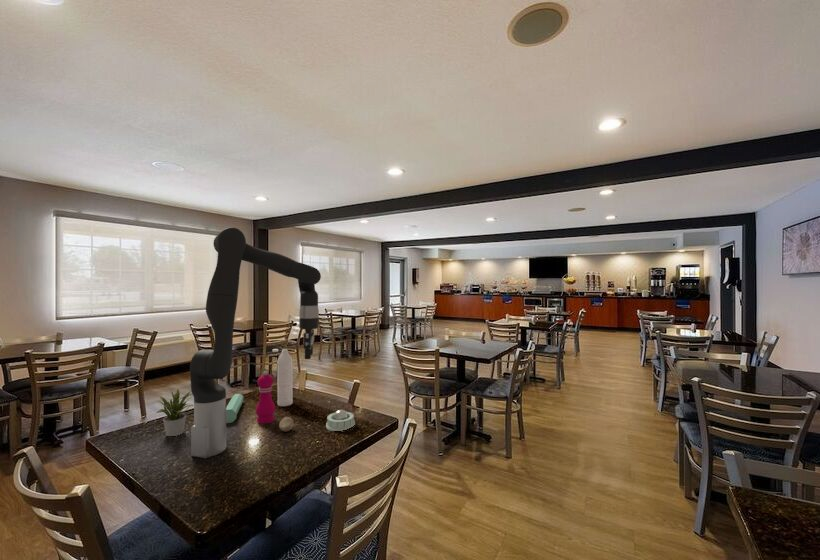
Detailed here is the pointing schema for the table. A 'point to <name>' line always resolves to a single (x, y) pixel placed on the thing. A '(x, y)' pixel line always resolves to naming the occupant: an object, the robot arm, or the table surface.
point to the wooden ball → (286, 424)
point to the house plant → (174, 414)
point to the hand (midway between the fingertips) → (308, 356)
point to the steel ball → (340, 415)
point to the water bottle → (284, 378)
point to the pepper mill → (265, 399)
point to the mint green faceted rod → (233, 408)
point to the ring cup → (340, 422)
